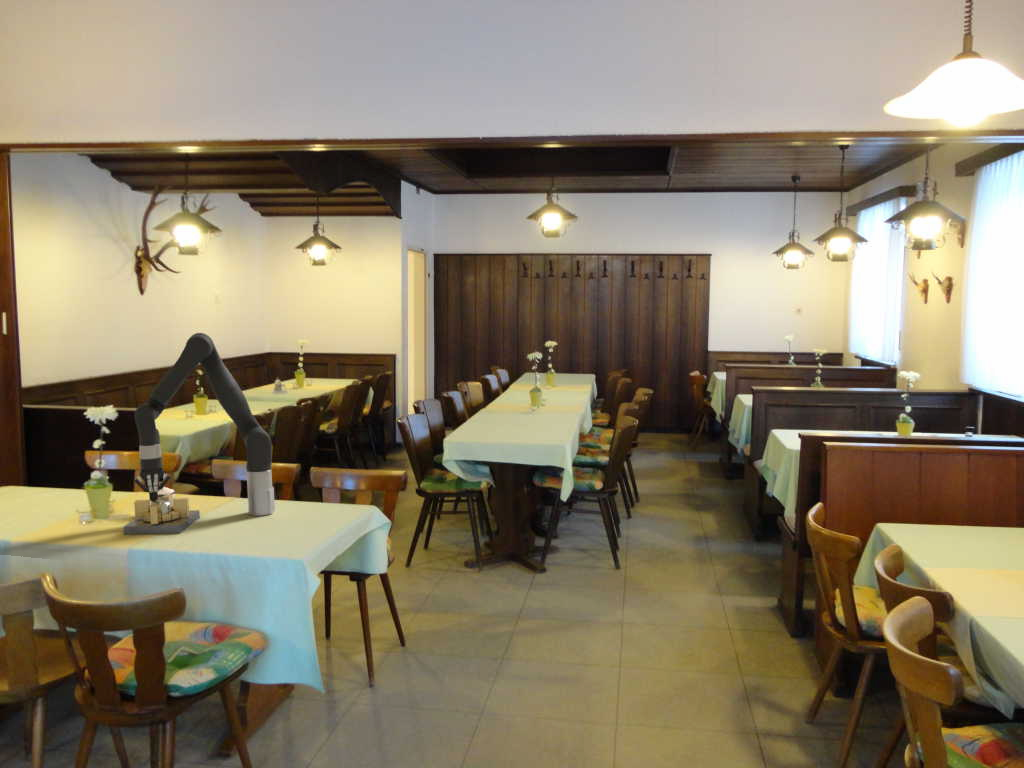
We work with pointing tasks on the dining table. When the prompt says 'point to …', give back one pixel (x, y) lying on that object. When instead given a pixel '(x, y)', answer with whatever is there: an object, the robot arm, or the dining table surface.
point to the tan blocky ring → (155, 512)
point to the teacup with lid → (163, 492)
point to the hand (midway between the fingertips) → (153, 501)
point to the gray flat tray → (162, 523)
